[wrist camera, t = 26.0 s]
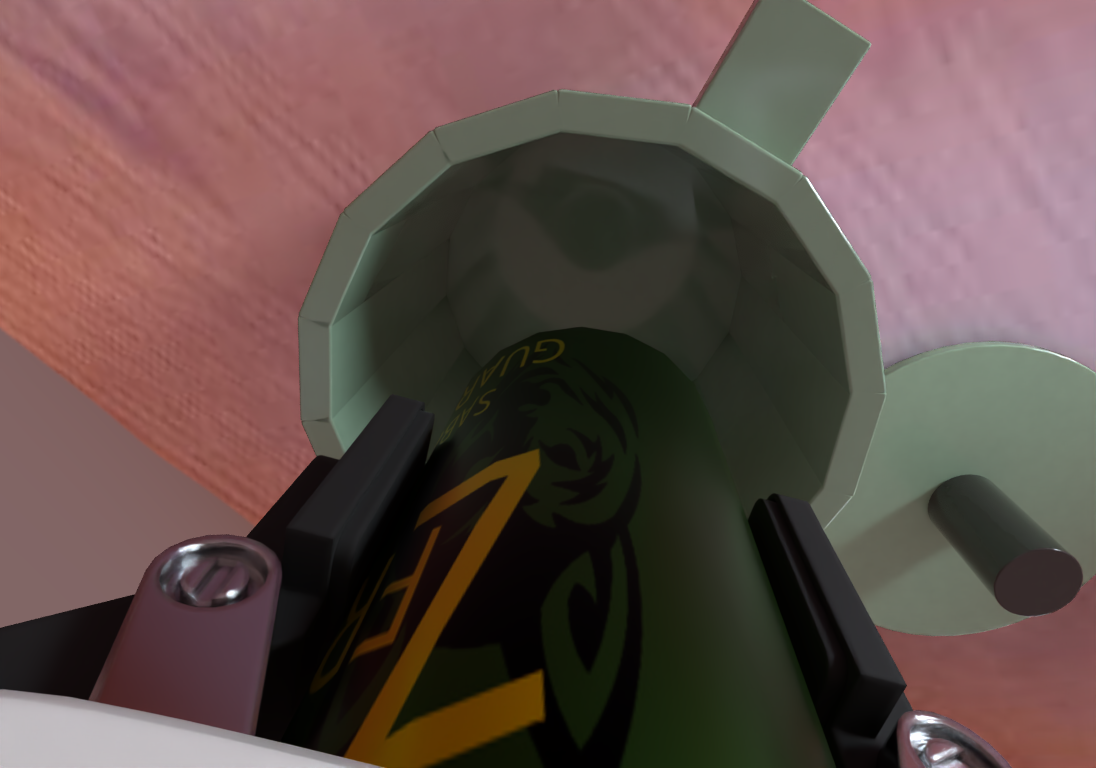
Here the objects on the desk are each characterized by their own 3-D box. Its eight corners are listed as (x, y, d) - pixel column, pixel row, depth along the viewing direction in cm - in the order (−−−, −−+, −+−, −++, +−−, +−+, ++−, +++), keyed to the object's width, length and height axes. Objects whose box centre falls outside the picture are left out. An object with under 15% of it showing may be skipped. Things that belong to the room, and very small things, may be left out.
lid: (722, 534, 32) (751, 632, 26) (929, 273, 27) (1026, 317, 21) (966, 664, 34) (1048, 785, 28) (1205, 440, 29) (1371, 527, 23)
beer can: (764, 416, 14) (1421, 1627, 3) (605, 584, 16) (606, 1722, 5) (553, 262, 13) (242, 1080, 2) (411, 457, 15) (-173, 1465, 4)
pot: (359, 386, 31) (192, 565, 18) (560, -35, 24) (514, -205, 12) (613, 519, 32) (620, 769, 20) (868, 157, 26) (1119, 189, 13)
